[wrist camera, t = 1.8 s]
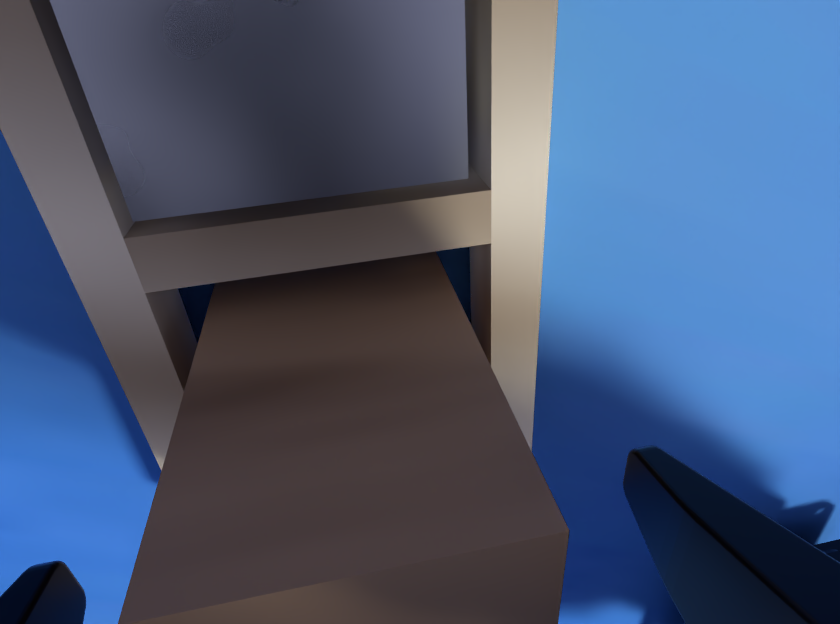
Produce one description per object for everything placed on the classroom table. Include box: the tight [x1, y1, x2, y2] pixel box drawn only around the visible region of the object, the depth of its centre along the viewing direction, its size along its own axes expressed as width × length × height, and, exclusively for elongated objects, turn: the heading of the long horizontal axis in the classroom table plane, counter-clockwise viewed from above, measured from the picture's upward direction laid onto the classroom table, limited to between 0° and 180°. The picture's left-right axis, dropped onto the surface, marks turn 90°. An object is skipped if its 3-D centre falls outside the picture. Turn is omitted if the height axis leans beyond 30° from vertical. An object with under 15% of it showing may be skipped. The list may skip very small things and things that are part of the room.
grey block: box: [50, 0, 468, 222], centre depth 7 cm, size 4×4×3 cm
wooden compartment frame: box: [0, 0, 558, 471], centre depth 8 cm, size 22×8×2 cm, turn 4°
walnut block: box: [118, 251, 569, 624], centre depth 10 cm, size 4×4×7 cm
